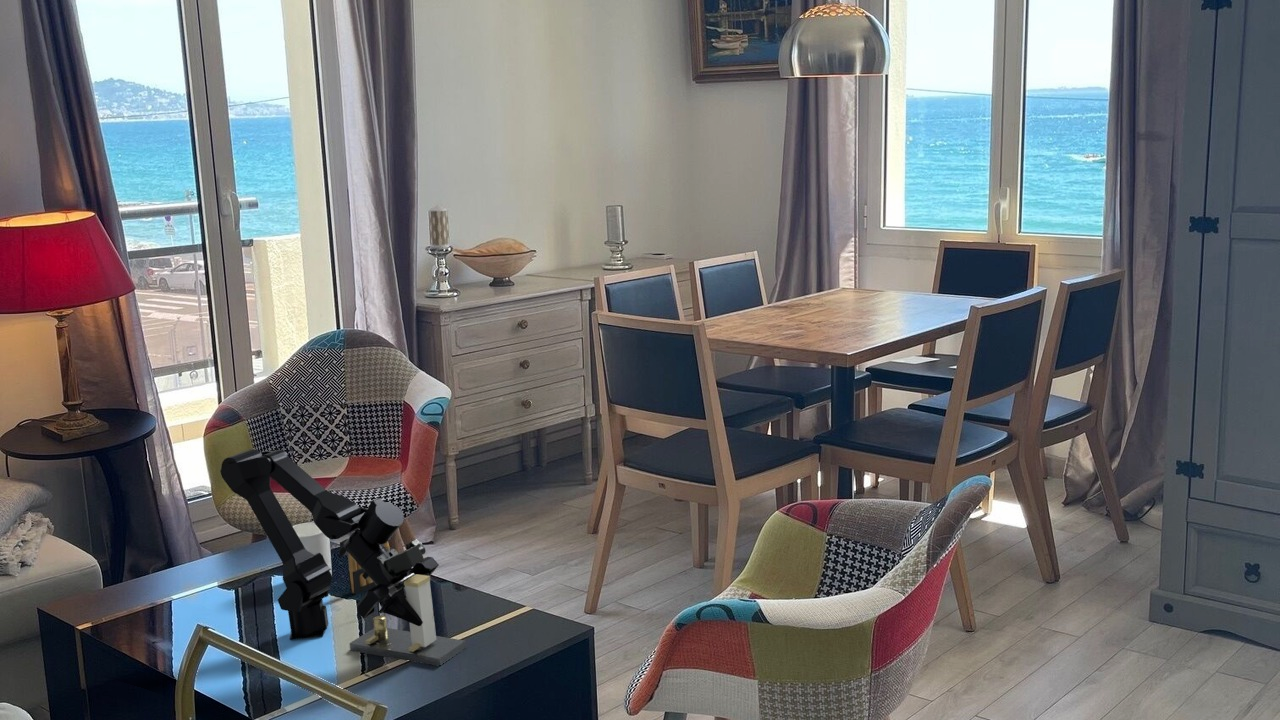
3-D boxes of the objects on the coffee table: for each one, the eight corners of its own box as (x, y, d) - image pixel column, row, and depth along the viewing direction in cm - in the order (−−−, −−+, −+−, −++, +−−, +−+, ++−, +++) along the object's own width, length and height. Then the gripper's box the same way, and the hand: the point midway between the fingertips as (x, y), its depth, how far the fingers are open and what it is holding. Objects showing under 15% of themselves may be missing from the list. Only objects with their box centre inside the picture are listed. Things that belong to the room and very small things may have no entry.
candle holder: (328, 587, 258) (321, 535, 256) (284, 590, 259) (276, 538, 256) (340, 571, 268) (334, 520, 266) (297, 573, 268) (290, 523, 266)
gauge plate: (350, 650, 225) (346, 623, 224) (377, 633, 232) (374, 607, 231) (440, 666, 216) (437, 638, 215) (465, 648, 223) (462, 620, 222)
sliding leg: (404, 651, 219) (396, 585, 217) (423, 638, 224) (416, 574, 222) (418, 653, 218) (410, 587, 215) (437, 640, 223) (429, 576, 220)
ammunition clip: (355, 595, 253) (348, 541, 251) (350, 593, 254) (343, 540, 252) (395, 578, 261) (389, 526, 259) (390, 576, 262) (384, 525, 260)
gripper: (361, 549, 211) (418, 615, 208) (425, 515, 227) (478, 576, 225) (332, 586, 216) (387, 650, 214) (397, 550, 233) (449, 610, 230)
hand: (427, 620), depth 220 cm, fingers closed on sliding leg, 3 cm apart
